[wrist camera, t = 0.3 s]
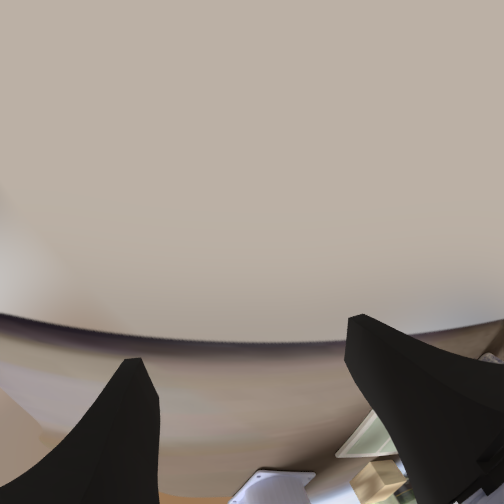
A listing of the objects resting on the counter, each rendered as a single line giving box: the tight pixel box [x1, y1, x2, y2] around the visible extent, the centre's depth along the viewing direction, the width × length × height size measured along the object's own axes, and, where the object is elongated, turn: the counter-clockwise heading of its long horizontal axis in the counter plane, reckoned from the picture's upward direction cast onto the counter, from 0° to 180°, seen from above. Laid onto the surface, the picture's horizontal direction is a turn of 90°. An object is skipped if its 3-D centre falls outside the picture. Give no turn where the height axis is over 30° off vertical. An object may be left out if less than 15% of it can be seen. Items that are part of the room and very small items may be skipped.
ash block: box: [350, 460, 407, 504], centre depth 27 cm, size 5×5×5 cm
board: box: [335, 409, 398, 458], centre depth 28 cm, size 9×19×1 cm, turn 65°
